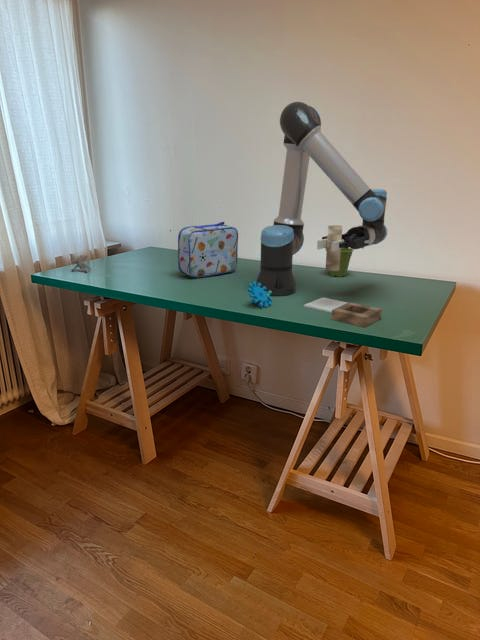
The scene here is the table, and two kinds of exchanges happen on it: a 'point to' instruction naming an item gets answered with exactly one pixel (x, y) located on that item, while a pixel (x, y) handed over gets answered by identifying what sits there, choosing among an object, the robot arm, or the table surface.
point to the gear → (259, 294)
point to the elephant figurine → (80, 264)
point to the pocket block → (356, 314)
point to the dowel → (331, 256)
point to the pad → (325, 304)
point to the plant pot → (342, 262)
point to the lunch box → (207, 250)
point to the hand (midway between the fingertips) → (325, 245)
